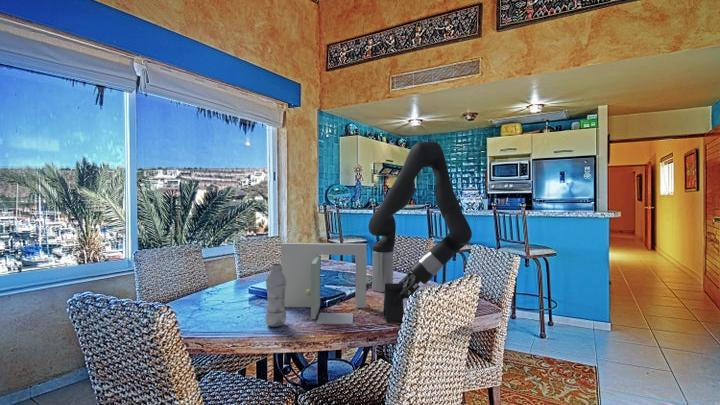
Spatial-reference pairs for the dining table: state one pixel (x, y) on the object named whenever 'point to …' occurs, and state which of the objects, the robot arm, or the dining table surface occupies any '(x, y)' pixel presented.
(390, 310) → the black rectangular block
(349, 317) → the door frame
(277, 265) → the plastic bottle
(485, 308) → the dining table surface
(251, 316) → the dining table surface
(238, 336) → the dining table surface
